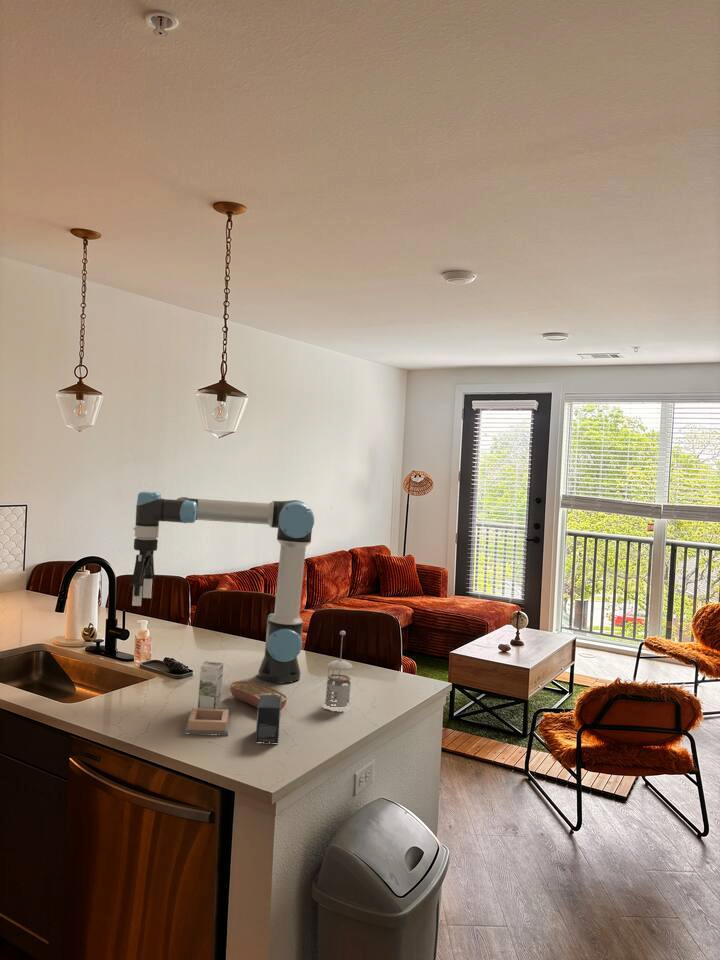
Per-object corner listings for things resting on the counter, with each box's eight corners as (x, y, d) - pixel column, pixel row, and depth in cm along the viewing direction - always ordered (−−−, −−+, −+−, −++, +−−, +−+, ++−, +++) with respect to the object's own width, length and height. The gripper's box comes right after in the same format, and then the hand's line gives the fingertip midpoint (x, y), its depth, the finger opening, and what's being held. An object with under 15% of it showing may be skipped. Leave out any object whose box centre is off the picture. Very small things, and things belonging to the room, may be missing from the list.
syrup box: (220, 708, 225) (224, 662, 224) (214, 714, 219) (218, 667, 219) (202, 706, 225) (206, 660, 225) (196, 712, 219) (200, 665, 219)
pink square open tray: (230, 720, 215) (231, 708, 215) (228, 735, 203) (228, 723, 203) (189, 719, 213) (190, 707, 213) (184, 734, 202) (185, 721, 202)
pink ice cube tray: (223, 699, 234) (224, 683, 234) (247, 693, 241) (249, 678, 241) (269, 720, 218) (270, 703, 218) (293, 713, 226) (294, 697, 226)
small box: (256, 729, 209) (259, 693, 209) (279, 730, 210) (282, 695, 210) (254, 744, 199) (257, 706, 199) (278, 745, 199) (281, 707, 199)
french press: (329, 713, 228) (335, 635, 227) (314, 701, 238) (320, 626, 237) (357, 711, 232) (363, 633, 232) (341, 699, 242) (347, 625, 242)
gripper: (144, 533, 253) (139, 594, 253) (124, 541, 228) (119, 608, 228) (165, 535, 253) (161, 595, 253) (148, 543, 228) (143, 609, 229)
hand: (141, 601), depth 241 cm, fingers open, 13 cm apart
